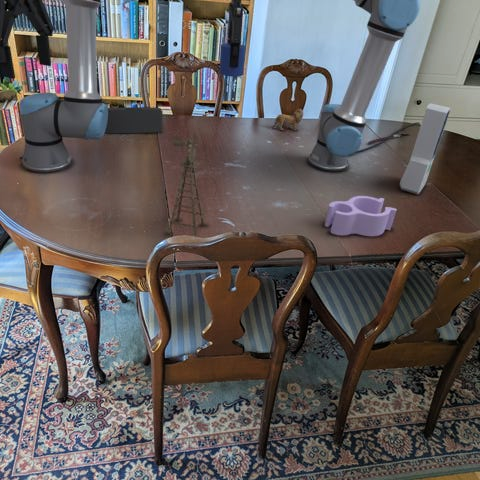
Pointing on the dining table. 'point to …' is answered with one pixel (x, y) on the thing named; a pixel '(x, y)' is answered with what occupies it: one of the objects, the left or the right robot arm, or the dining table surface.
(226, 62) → the can
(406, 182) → the electronic device
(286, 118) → the lion figurine
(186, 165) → the miniature windmill
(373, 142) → the sword
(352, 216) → the clip
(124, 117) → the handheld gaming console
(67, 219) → the dining table surface
